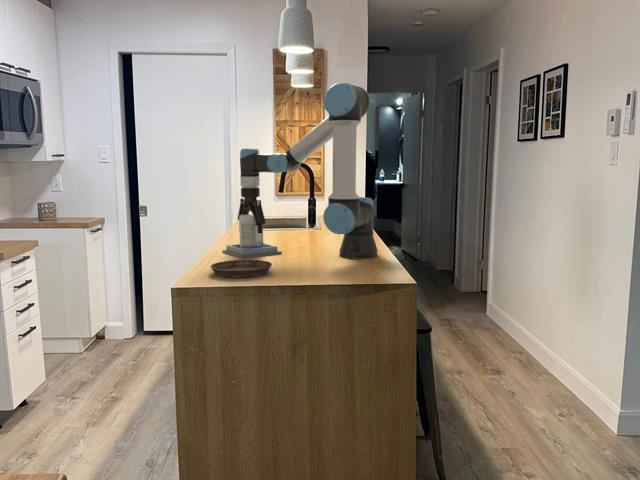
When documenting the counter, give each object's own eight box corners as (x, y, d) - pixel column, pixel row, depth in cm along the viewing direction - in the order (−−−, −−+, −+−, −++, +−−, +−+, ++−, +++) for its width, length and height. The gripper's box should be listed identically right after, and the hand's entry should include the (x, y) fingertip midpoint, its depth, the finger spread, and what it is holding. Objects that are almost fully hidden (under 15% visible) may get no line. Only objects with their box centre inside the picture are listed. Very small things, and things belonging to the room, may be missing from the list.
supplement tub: (267, 251, 229) (266, 215, 227) (246, 253, 224) (245, 216, 222) (256, 248, 237) (255, 213, 235) (236, 250, 232) (235, 214, 230)
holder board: (281, 253, 228) (281, 246, 228) (241, 258, 218) (241, 250, 218) (261, 248, 243) (260, 241, 243) (222, 252, 233) (222, 245, 233)
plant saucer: (214, 268, 201) (214, 259, 200) (272, 267, 202) (272, 258, 202) (207, 281, 180) (206, 270, 180) (271, 279, 182) (271, 269, 181)
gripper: (273, 188, 218) (274, 242, 222) (244, 185, 239) (246, 235, 242) (256, 188, 214) (257, 243, 217) (228, 186, 235) (230, 236, 238)
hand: (251, 239), depth 230 cm, fingers open, 13 cm apart
